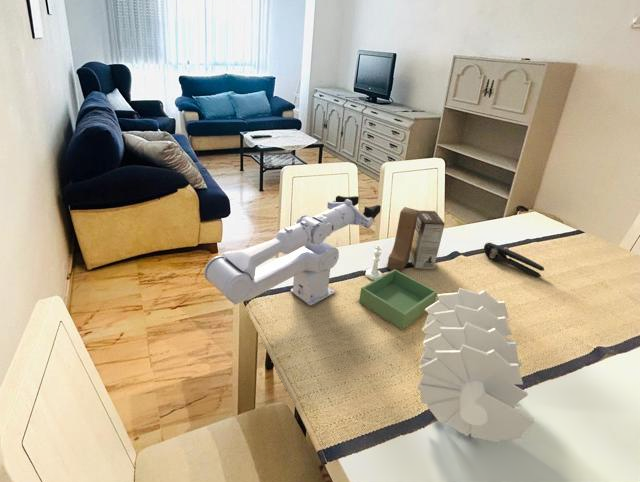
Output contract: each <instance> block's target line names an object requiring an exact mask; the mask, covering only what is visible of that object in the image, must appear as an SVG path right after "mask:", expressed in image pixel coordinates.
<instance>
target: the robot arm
mask: <svg viewBox="0 0 640 482" xmlns="http://www.w3.org/2000/svg"><path fill="white" fill-rule="evenodd" d="M359 201H360V197H359V196H357V195H355V196H344V195H343V196H342V195H336V197H335V200H333V199H331V200H328V201H327V205H326V206H327V210H325V211H323V212H321V213H318V214H316V215H314V216H310V215H306V214H305V215H301V216H299V218H298V219H297V220H296V222H293V224H292V225H291V226H285V227H284V229H282V230H280V231H278V232H276V233H275V235H274V238H272V239H269V240H268V241H267V240H266V241H265V242H262V243H259V244H256V245H253V246H251V247H248V248H245V249H242V250H236V251H235V250H234V251H226V252H224V253H223V254H222V255H217V256H214V257H212V258H211V259H210V260H209V261H208V262H207V264H206V265H205V267H204V270H203V276H204V278H205V280H206V281H208V282H209V283H210V284H211V285H213V286H214V288H216V289H217V290H218V291H219V292H220V293H221V294H222V295H223V296H224V297H225V298H226V299H227V300H228V301H229V302H231V303H232V304H234V305H238V304H240V303H241V302H246V301H251V300H252V299H254V298H256V297H257V296H259V295H262V294H263V293H265V292H268V290H271V289H273V288H275V287H277V286H278V285H280V284H282V283H284V282H286V281H288V280H289V279H291V278H293V283H292V288H291V289H290V292H291V293H292V294H294V295H295V296H296V297H298V298H299V299H300V300H302V301H303V302H304V303H306V304H307V305H309V306H313V305H315V304H317V303H318V302H320V301H322V300H324V299H326V298H328V297H330V296H331V295H333V294H335V290H334V289H332V288H331V287H329V283H330V276H331V275H330V274H331V269H332V268H334V267H335V266H336V265H337V263H338V260H339V257H340V252H339V249H338V248H337V247H335V246H332V245H331V244H328V243H327V242H326V241H325V240H326V239H327V238H328V237H330V236H331V235H332V234H333V233H334V232H337V231H339V230H341V229H343V228H345V227H348V226H351V225H352V226H362V227H364V228H367V229H368V228H370V227H372V226H373V224H374V220H375V218H376V217H377V216H378V215H379V214H380V213H381V207H382V206H381V205H379V204H376V205H373V206H364V210H363V212H361V211H360V210H359V209H358V208H357V207H355V206H357V205H359V203H360V202H359ZM280 253H282V254H283V255H284V256H281V257H279V258H277V259H275V260H273V261H271V262H269V263H267V264H265V265H263V266H261V265H262V264H264V263H265V262H268V261H269V260H270V259H272V258H274V257H276V256H277V255H279V254H280ZM258 266H261V267H259V268H257V267H258Z"/></svg>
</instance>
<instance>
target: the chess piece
mask: <svg viewBox="0 0 640 482" xmlns="http://www.w3.org/2000/svg"><path fill="white" fill-rule="evenodd" d="M374 249H375V250H374V251H373V254H374V256H373V257H372V260H373V261H374V262H373V264H372V267H371V268H368V269H366V271H365V277H367V278H368V279H369V280H371V281H374V280H376V279H378V278H380V277H382V276H383V273H382V272H381V271H380V270H379V269H378V268H379V265H378V264H379V262H380V261H381V258H380V256H381V255H382V252H381V251H382V248H381V246H380V245H377V246H374Z"/></svg>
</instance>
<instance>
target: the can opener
mask: <svg viewBox="0 0 640 482" xmlns="http://www.w3.org/2000/svg"><path fill="white" fill-rule="evenodd" d="M483 252H484V255H485V256H486V258H487V259H488V260H490V261H492V262H501V263H505V264H509V265H510V266H513V267H514V268H516V269H518V270H519V271H522V272H524V273H525V274H528V275H530V276H532V277H535V278H541V277H542V275H541V273H539V272H538V271H541V272H542V271H545V267H544V266H542V265H541V264H539V263H537V262H536V261H533V260H531V259H530V258H527V257H526V256H525V255H522V254H520V253H517V252H515V251H512V250H510V249H509V247H503V246H501V245H499V244H495V243H493V242H486V243H485V244H484V245H483ZM528 266H529V267H528ZM531 267H532V268H533V269H532V268H531ZM534 269H536V270H538V271H536V270H534Z"/></svg>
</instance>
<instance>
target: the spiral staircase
mask: <svg viewBox="0 0 640 482" xmlns="http://www.w3.org/2000/svg"><path fill="white" fill-rule="evenodd" d="M437 298H438V300H437V301H435V303H433V304H432V305H430V306H429V307H427V308H426V309H425V311H426V312H425V313H427V314H428V315H427V317H426V319H425V323H424V325H423V327H422V328H421V331H422V332H423V333H425V336H424V340H423V342H422V343H423V344H422V350H423V353H422V355H421V357H420V359H419V361H418V363H419V364H421V365H419V370H420V371H421V378H420V380H419V382H418V385H417V387H416V389H417V390H418V391H420V403H421V404H424V405H426V407H427V408H428V410H429V411H430V412H431V413H432V415H433V416H434V417H435V419H436V420H437V421H438V422H439V423H440V424H443V423H445V425H447V426H448V427H450V428H452V429H453V430H455V431H456V432H458V433H460V434H462V435H464V437H469V436H470V437H471V438H474V439H478V440H479V439H480V440H484V441H489V442H493V443H499V442H500V441H507V440H512V439H519V438H523V435H522V434H523V433H524V432H525V431H526V430H527V429H529V428H530V427H531V426H532V425H533V424H535V423H536V422H535V419H534V418H532V417H530V416H529V415H526V414H525V413H523V412H521V411H519V410H517V409H516V408H515V405H517V404H518V403H520V402H521V401H523V400H524V399H525V398H526V397H528V396H529V393H528V392H527V391H525V390H524V389H522V388H520V387H518V386H517V385H524V383H523V379H522V378H523V377H522V375H521V371H520V367H521V366H522V365H523V362H522V360H519V355H518V347H517V346H518V341H517V342H516V341H514V340H512V339H510V338H508V337H506V336H512V335H513V333H512V331H511V328H510V326H509V323H508V320H507V319H510V317H509V313H508V309H507V306H506V302H505V300H502V301H501V300H500V301H499V300H497V299H495V298H494V297H493V296H492V295H491V294H490V293H488V292H487V291H486V290H485V289H483V290H482V291H480V292H476V291H472V290H471V289H466V288H462V287H459V288H458V290H457V292H447V293H437Z"/></svg>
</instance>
